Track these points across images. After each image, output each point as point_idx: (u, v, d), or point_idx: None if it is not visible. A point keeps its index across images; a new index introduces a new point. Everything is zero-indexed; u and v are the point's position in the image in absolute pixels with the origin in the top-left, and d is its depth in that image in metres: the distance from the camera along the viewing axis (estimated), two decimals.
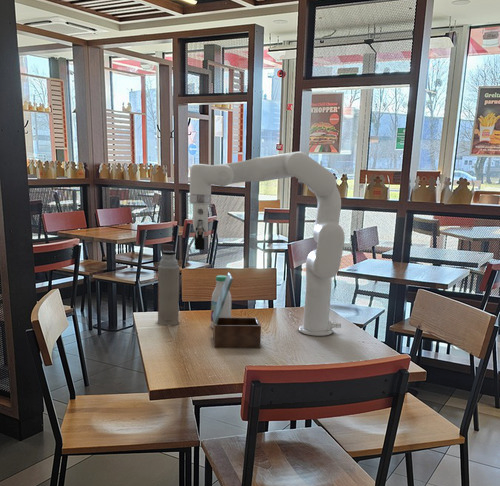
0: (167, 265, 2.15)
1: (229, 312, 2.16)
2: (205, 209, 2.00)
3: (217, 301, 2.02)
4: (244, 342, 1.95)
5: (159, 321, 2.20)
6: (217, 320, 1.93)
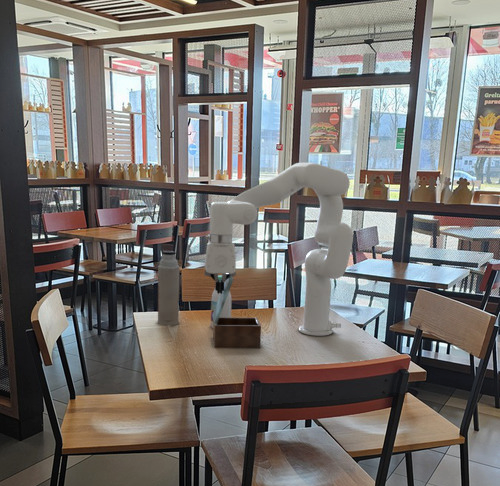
0: (167, 265, 2.15)
1: (229, 312, 2.16)
2: (207, 248, 1.91)
3: (217, 302, 2.02)
4: (244, 342, 1.95)
5: (159, 321, 2.20)
6: (217, 320, 1.93)
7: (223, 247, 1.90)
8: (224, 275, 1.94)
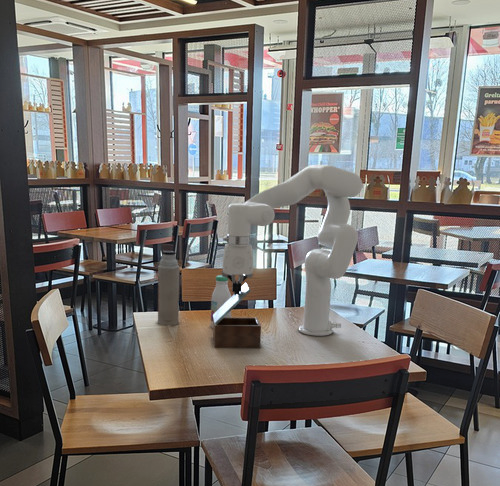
0: (167, 265, 2.15)
1: (229, 312, 2.16)
2: (225, 250, 1.91)
3: (223, 304, 2.03)
4: (244, 342, 1.95)
5: (159, 321, 2.20)
6: (218, 321, 1.93)
7: (241, 248, 1.91)
8: (241, 276, 1.94)
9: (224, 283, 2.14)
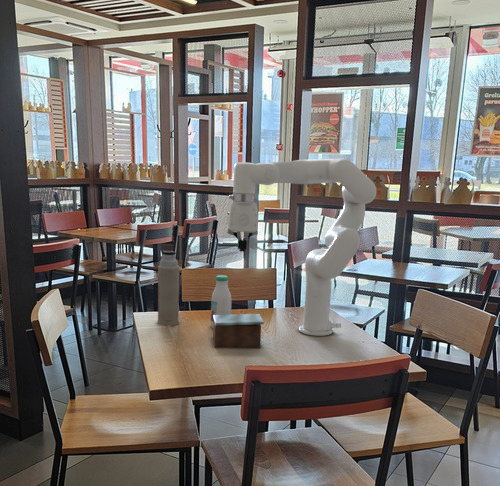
0: (167, 265, 2.15)
1: (229, 312, 2.16)
2: (231, 207, 1.98)
3: (228, 314, 2.04)
4: (244, 342, 1.95)
5: (159, 321, 2.20)
6: (219, 324, 1.93)
7: (246, 205, 1.98)
8: (246, 233, 2.01)
9: (224, 283, 2.14)
